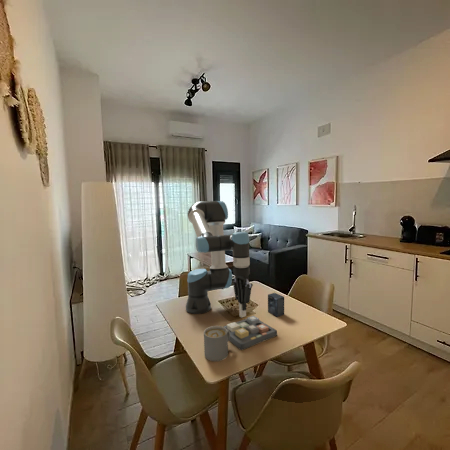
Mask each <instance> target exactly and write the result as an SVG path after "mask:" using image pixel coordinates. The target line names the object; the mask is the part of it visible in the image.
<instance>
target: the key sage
mask: <svg viewBox="0 0 450 450" xmlns="http://www.w3.org/2000/svg"><path fill="white" fill-rule="evenodd" d="M238 325H240V329H241V328H244V329H246V326H249V324H247V323H246V322H242V323H239V324H238Z"/></svg>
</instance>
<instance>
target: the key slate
mask: <svg viewBox="0 0 450 450" xmlns="http://www.w3.org/2000/svg"><path fill="white" fill-rule="evenodd" d="M246 319H247V322H248V323H250V324H251V325H252V324H257V323H259V320H260V318H258V317H257V316H255V315H252V316H248V317H246Z"/></svg>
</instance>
